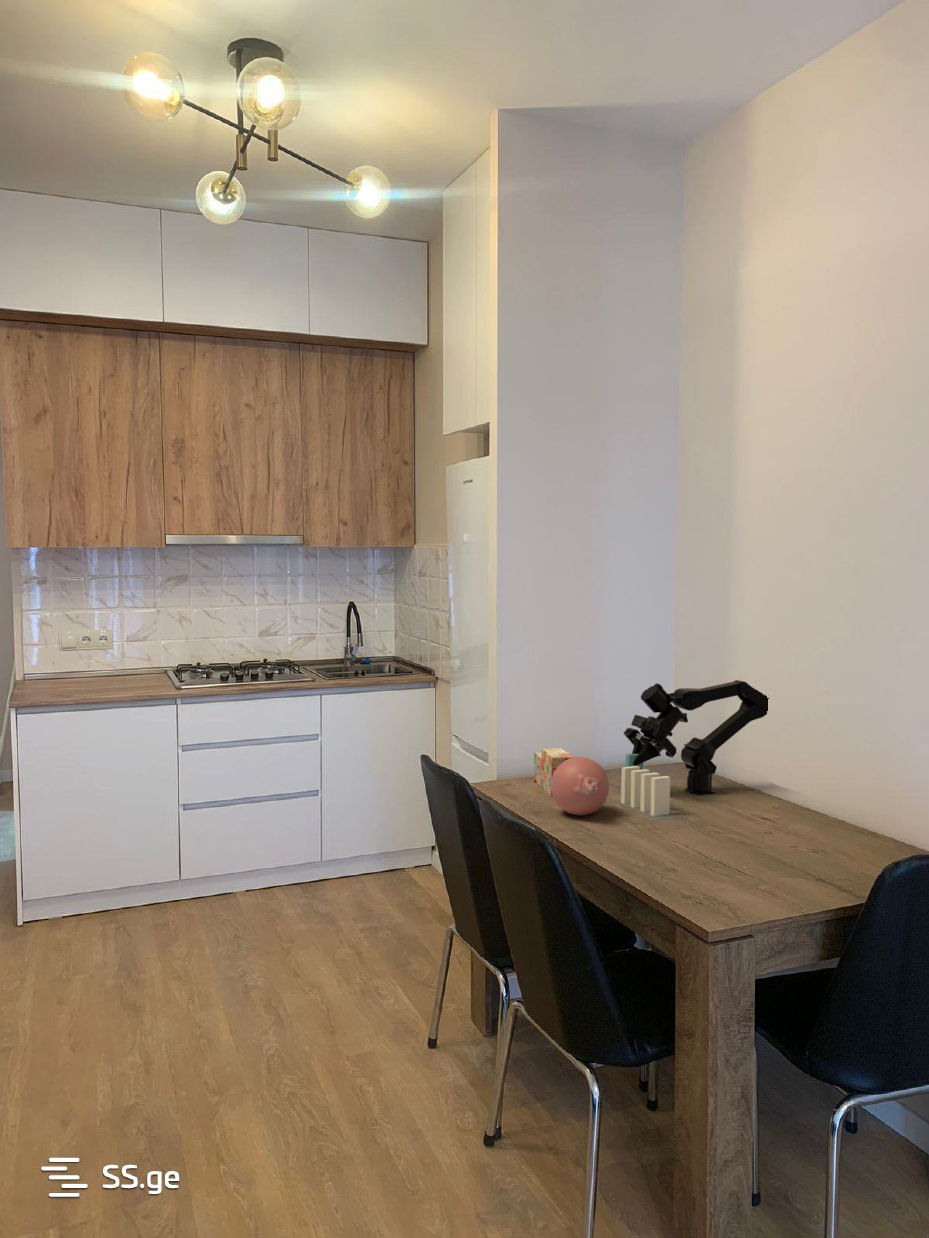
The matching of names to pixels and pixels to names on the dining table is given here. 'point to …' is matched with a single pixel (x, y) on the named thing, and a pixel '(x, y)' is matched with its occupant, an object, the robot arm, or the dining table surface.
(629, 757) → the teal domino
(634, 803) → the domino
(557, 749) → the stack of blocks
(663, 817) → the domino mat
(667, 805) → the domino
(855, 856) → the dining table surface
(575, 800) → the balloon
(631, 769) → the domino
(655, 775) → the domino
